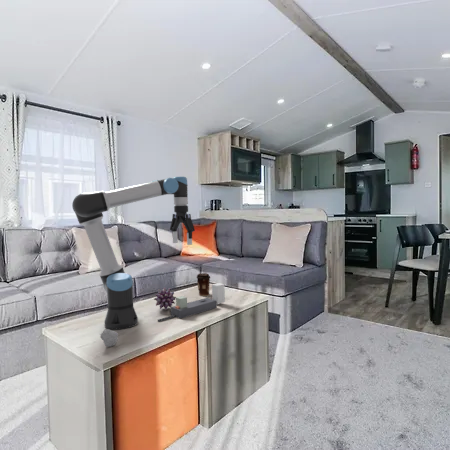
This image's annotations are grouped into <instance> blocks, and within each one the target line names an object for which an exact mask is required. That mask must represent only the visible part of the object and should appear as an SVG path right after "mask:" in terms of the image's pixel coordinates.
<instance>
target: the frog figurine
mask: <svg viewBox="0 0 450 450" xmlns="http://www.w3.org/2000/svg"><path fill="white" fill-rule="evenodd" d="M99 335H100V339H101V340H102V341H103V344H104V345H105V346H106V347H108V348H110V347H113V346H115V344H116V343H117V341H118V338H119V337H118V335H119V334H118V332H117V331H114V330H112V329H108V328H106V329H103V330H102V332H101V333H99Z"/></svg>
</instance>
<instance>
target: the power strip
mask: <svg viewBox="0 0 450 450" xmlns="http://www.w3.org/2000/svg"><path fill="white" fill-rule="evenodd" d="M217 306H218V305H217V302H216V300H213V299H212V298H209V297H205V298H200V299H197V300H193V301H190V302H187V307H186V308H182V309H180V307H179V306H176V305H175V306H171V308H170V316H169V315H168V316H166V317H161V318H158V319H157V322H158V323H159V322H163V321H167V320H169V319H174V318H178V319H183V318H186V317H190V316H193V315H197V314H201V313H204V312H207V311H211V310H214V309H217V308H218V307H217Z"/></svg>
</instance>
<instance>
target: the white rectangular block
mask: <svg viewBox="0 0 450 450" xmlns="http://www.w3.org/2000/svg"><path fill="white" fill-rule="evenodd" d="M225 292H226V291H225V284H224V283H221V282H217V283H214V284H211V294H212V295H211V297H212V298H211V299H213V300H216V302H217V306H218V305H221V304H222V303H225V302H226V300H225V299H226V297H225V296H226V294H225Z"/></svg>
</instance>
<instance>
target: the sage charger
mask: <svg viewBox="0 0 450 450" xmlns="http://www.w3.org/2000/svg"><path fill="white" fill-rule="evenodd" d="M175 297H176V296H175ZM187 303H188V297H186V296H183V295H181V296H177V297H176V298H175V306H179V307H180V309H182V308H186V307H187Z"/></svg>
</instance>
